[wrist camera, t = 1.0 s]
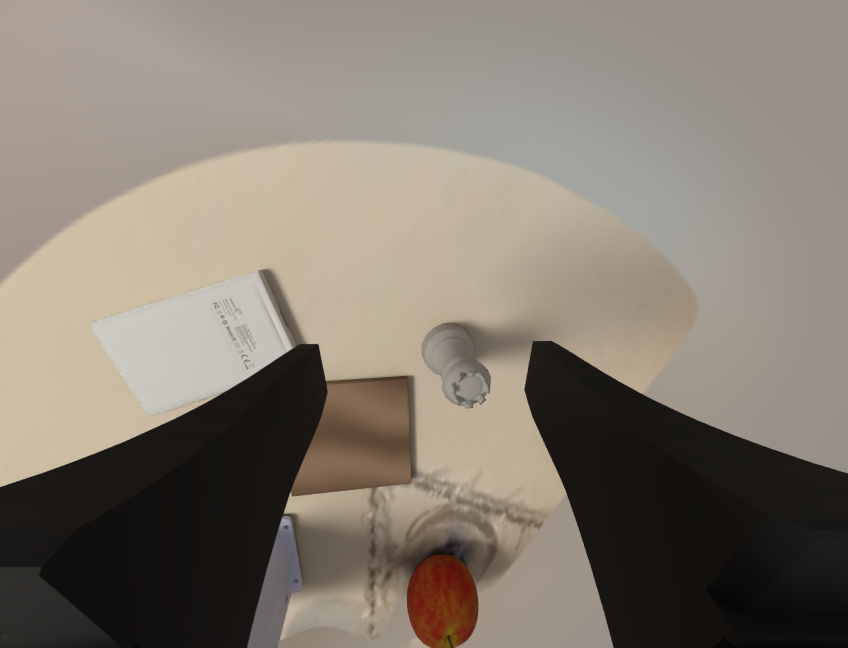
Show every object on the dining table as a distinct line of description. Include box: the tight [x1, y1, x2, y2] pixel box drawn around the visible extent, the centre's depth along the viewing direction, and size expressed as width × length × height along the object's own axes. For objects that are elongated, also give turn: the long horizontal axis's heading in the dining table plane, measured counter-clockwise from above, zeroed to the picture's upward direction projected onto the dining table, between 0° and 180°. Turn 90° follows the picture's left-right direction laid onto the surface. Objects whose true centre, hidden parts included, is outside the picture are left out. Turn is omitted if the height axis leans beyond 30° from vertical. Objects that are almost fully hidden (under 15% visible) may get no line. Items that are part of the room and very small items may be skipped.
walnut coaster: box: [291, 376, 411, 496], centre depth 28 cm, size 11×11×1 cm
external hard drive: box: [90, 270, 296, 416], centre depth 24 cm, size 2×8×12 cm
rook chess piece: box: [422, 324, 491, 408], centre depth 23 cm, size 4×4×8 cm
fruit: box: [407, 555, 478, 648], centre depth 30 cm, size 7×7×8 cm
